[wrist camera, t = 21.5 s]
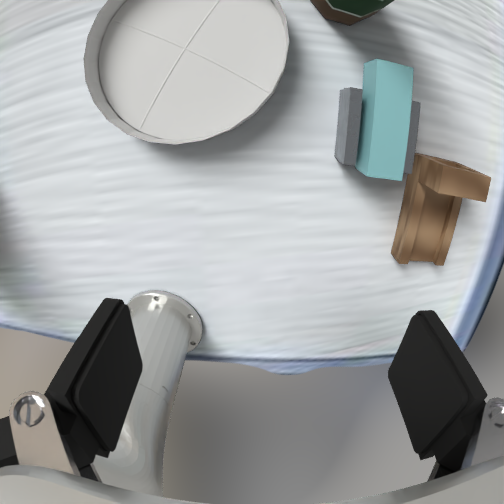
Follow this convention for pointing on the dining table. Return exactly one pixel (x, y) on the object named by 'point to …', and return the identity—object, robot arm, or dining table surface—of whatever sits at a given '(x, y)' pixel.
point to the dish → (184, 65)
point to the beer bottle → (349, 9)
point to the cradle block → (351, 126)
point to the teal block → (384, 119)
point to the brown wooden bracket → (434, 207)
